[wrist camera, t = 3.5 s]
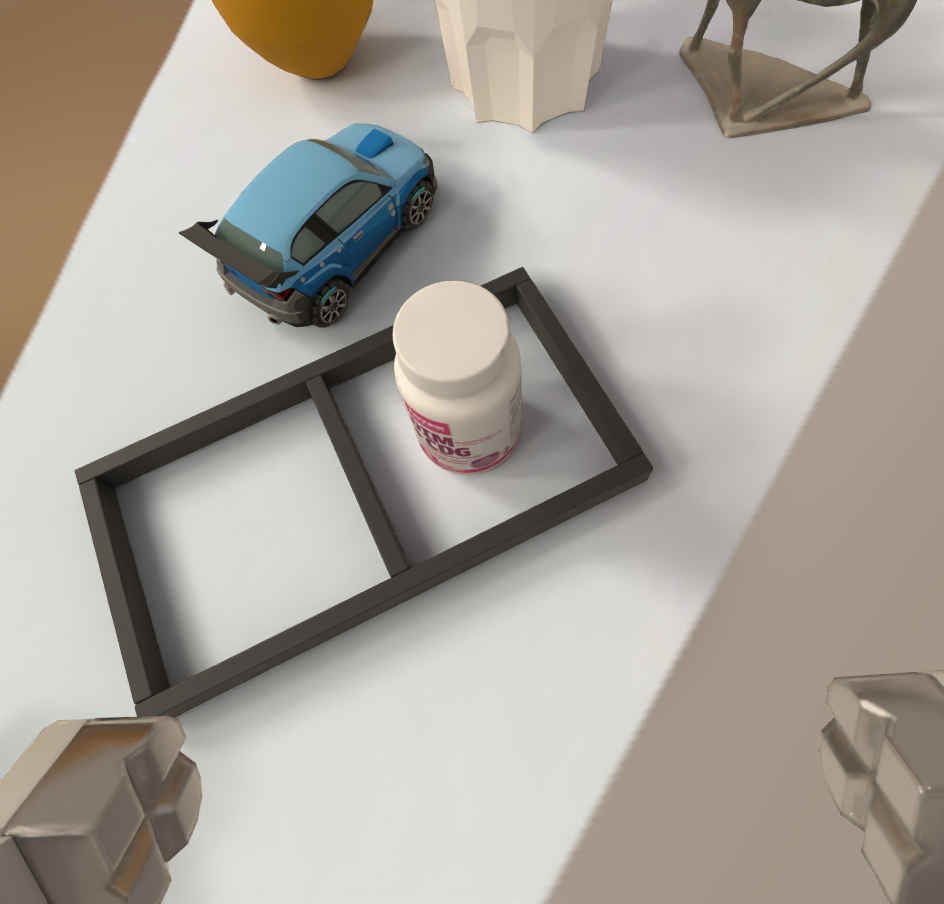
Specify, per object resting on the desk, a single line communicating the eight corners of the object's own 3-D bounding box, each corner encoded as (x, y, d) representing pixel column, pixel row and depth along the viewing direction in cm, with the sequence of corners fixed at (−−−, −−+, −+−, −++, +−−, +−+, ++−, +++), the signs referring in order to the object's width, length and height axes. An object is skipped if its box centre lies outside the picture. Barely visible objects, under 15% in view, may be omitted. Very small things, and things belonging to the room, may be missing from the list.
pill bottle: (412, 476, 29) (370, 388, 21) (422, 381, 30) (387, 268, 23) (519, 479, 28) (517, 392, 20) (523, 383, 30) (523, 269, 22)
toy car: (455, 195, 35) (442, 103, 29) (307, 358, 31) (263, 287, 26) (372, 152, 36) (345, 57, 31) (224, 302, 33) (167, 225, 28)
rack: (647, 479, 28) (654, 467, 26) (159, 724, 26) (138, 726, 24) (523, 285, 32) (523, 265, 31) (94, 481, 30) (73, 469, 28)
